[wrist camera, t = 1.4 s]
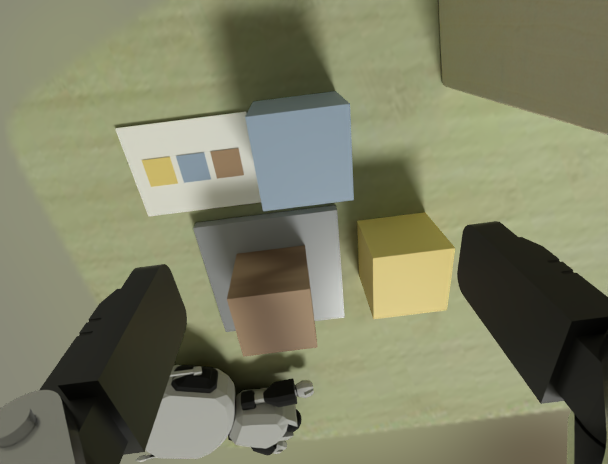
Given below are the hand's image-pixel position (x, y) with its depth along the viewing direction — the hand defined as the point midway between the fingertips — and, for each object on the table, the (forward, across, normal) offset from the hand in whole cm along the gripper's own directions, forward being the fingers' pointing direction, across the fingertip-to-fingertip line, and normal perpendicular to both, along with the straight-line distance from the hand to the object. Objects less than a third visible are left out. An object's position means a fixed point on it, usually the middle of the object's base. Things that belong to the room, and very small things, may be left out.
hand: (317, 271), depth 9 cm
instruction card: (+14, +7, +1) cm, 16 cm away
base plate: (+14, +3, +10) cm, 17 cm away
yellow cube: (+14, -6, +9) cm, 18 cm away
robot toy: (+14, +10, +24) cm, 30 cm away
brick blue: (+14, 0, 0) cm, 14 cm away
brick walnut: (+13, +3, +10) cm, 17 cm away
